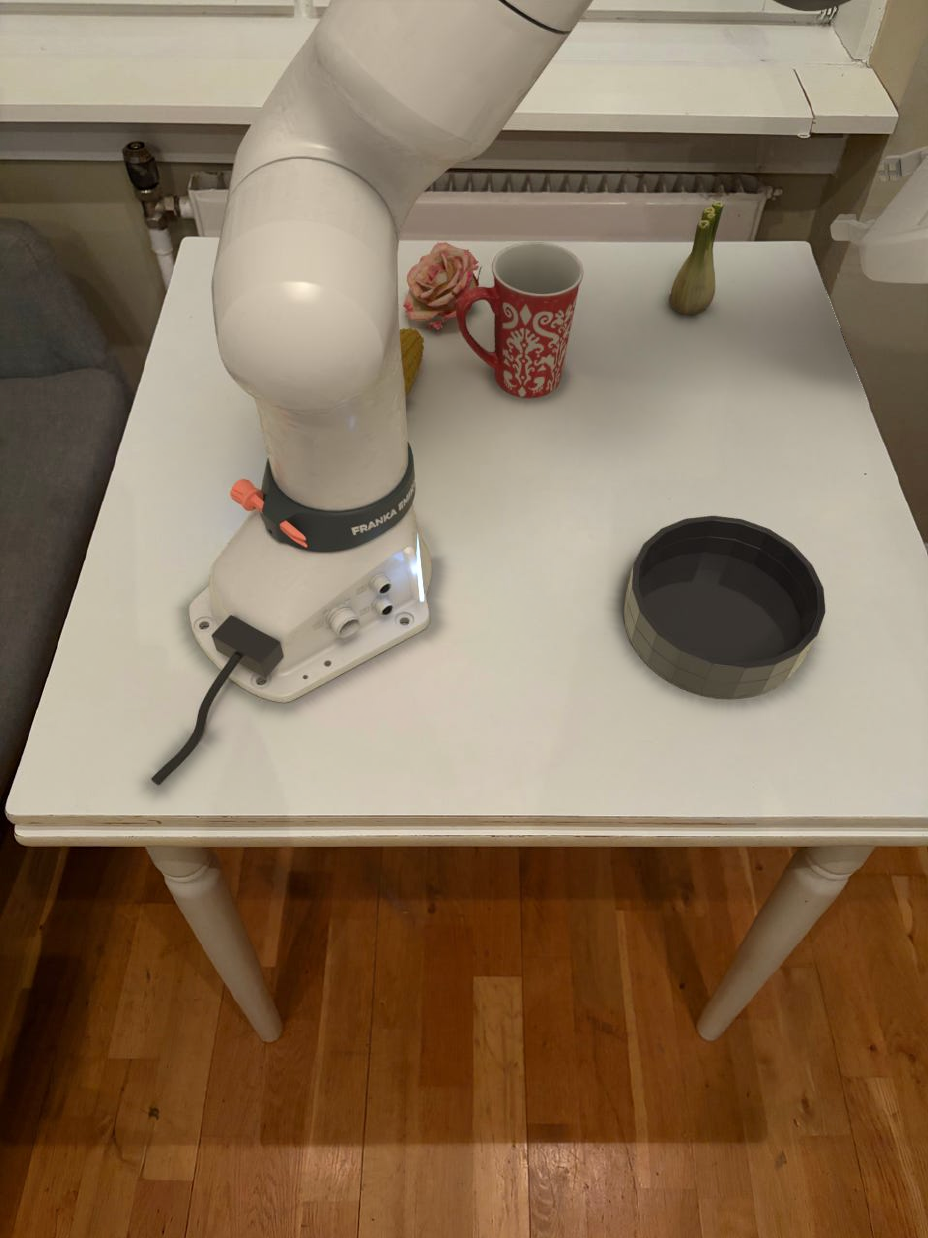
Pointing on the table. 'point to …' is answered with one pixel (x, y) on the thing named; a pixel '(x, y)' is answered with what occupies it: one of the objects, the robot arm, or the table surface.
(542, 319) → the mug
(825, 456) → the table surface
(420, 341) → the food
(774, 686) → the pan
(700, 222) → the fennel bulb
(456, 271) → the flower
